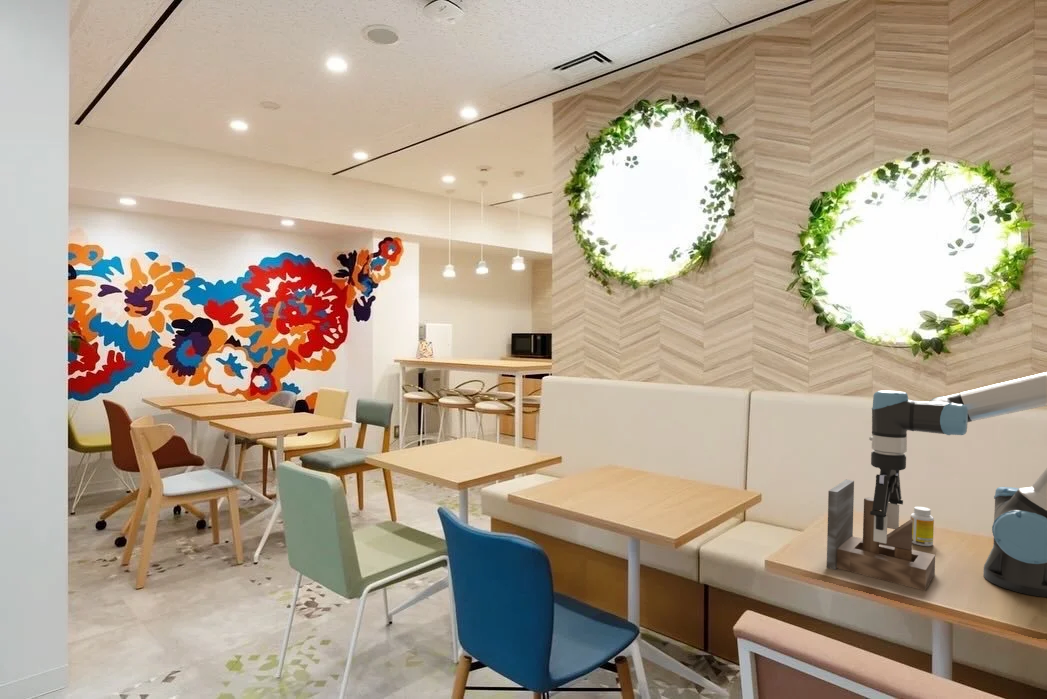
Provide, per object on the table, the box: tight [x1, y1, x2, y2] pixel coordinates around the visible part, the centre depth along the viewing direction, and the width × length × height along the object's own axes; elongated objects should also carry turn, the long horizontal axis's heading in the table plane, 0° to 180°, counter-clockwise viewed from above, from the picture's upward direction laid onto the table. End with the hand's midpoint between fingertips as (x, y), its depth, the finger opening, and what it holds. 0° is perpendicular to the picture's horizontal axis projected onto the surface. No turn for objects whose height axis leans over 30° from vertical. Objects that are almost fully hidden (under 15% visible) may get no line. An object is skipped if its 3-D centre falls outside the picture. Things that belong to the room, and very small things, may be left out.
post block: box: [826, 479, 936, 592], centre depth 149 cm, size 21×16×20 cm
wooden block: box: [862, 497, 913, 561], centre depth 148 cm, size 4×11×18 cm, turn 56°
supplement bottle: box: [909, 506, 935, 547], centre depth 168 cm, size 6×6×10 cm
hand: (886, 535), depth 148 cm, fingers open, 13 cm apart
